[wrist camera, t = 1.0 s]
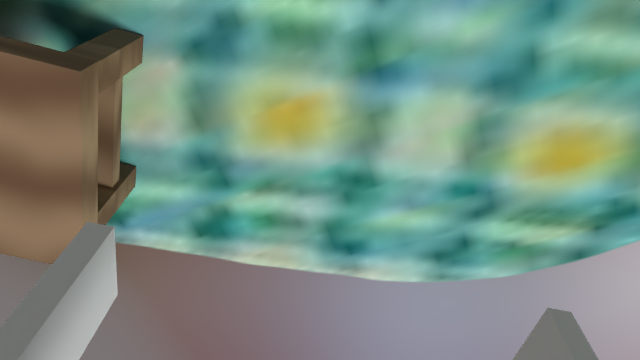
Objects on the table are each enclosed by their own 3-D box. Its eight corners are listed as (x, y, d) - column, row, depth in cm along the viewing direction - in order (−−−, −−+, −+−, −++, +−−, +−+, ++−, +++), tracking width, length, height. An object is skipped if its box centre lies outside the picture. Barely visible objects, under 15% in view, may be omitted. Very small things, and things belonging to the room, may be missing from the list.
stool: (-57, -25, 30) (-216, -4, 21) (151, 30, 31) (80, 71, 23) (-29, 153, 37) (-141, 223, 28) (140, 192, 38) (83, 270, 30)
